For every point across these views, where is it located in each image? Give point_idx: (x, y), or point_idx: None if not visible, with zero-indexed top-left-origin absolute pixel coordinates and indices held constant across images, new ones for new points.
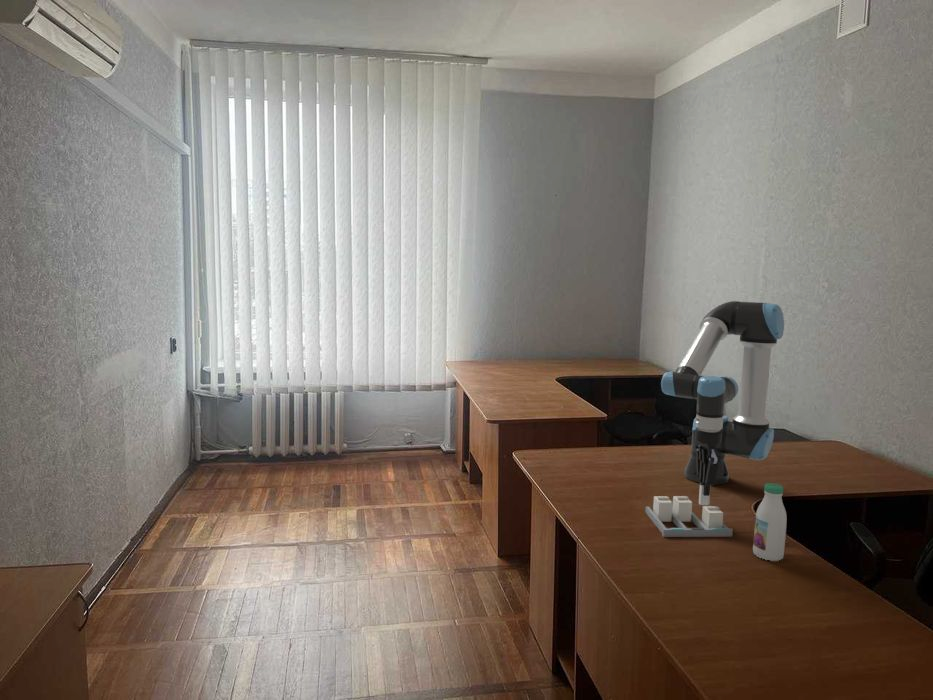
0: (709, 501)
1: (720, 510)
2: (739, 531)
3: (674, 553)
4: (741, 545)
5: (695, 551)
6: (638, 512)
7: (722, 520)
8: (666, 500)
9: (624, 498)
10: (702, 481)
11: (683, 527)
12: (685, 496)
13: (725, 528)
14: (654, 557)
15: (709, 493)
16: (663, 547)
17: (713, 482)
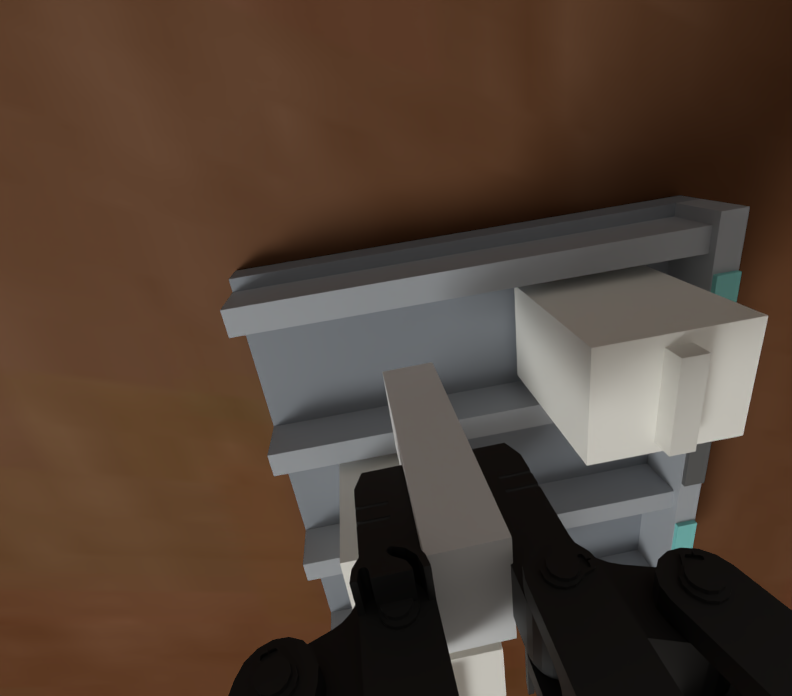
0: (439, 381)
1: (705, 328)
2: (514, 71)
3: (760, 514)
4: (747, 142)
5: (762, 430)
6: (283, 627)
7: (706, 292)
8: (464, 678)
9: (82, 682)
10: (536, 689)
11: (644, 511)
12: (347, 567)
13: (718, 262)
14: (775, 579)
15: (524, 463)
16: (695, 548)
17: (774, 622)
